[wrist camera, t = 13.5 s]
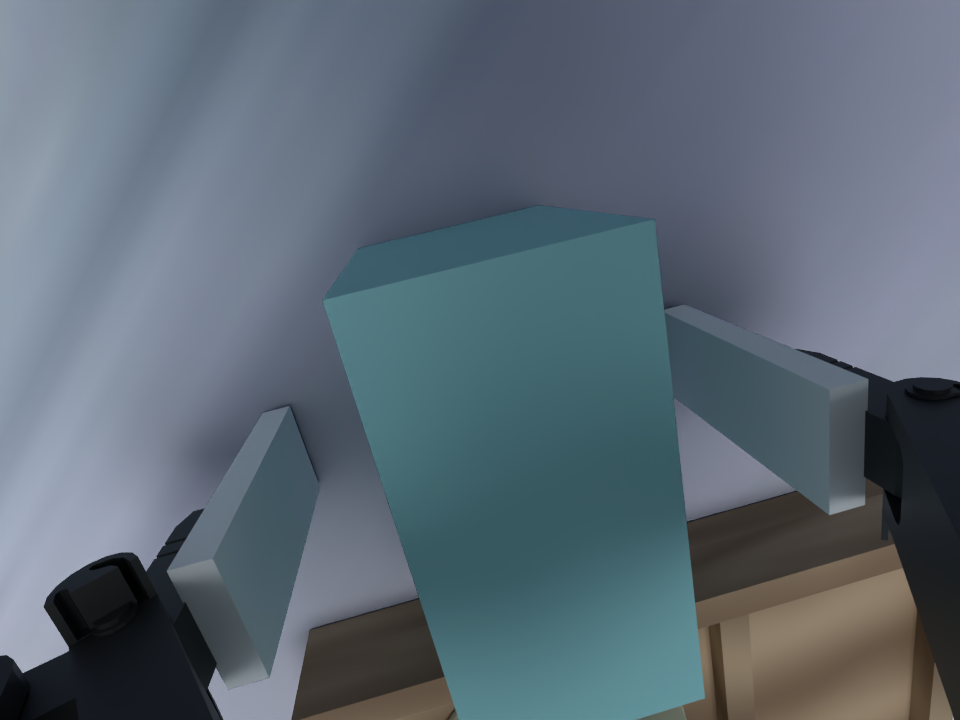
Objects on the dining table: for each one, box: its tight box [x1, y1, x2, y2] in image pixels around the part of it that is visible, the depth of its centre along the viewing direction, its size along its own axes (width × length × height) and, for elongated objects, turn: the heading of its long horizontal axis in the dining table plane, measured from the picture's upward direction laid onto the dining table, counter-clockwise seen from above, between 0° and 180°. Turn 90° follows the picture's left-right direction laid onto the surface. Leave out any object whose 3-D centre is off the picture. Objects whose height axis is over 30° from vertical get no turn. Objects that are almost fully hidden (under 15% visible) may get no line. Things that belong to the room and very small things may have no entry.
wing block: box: [322, 205, 705, 720], centre depth 13 cm, size 10×5×7 cm, turn 12°
